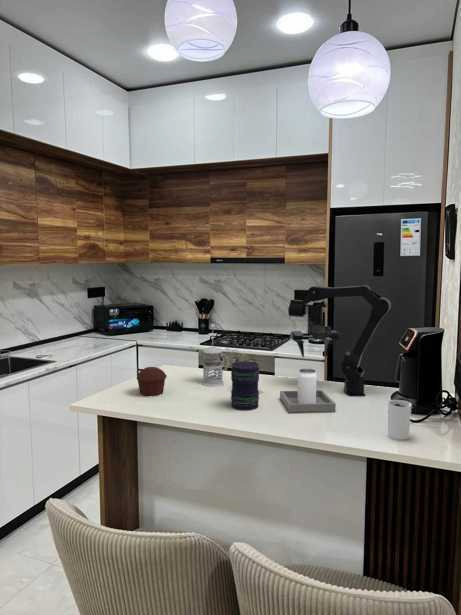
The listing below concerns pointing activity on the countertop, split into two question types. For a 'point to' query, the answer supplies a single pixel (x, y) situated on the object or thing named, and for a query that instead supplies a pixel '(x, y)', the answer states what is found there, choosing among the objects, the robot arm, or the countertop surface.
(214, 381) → the french press
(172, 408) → the countertop surface
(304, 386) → the can
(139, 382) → the muffin
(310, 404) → the tray
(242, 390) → the storage jar
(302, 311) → the robot arm
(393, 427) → the white cylindrical container
